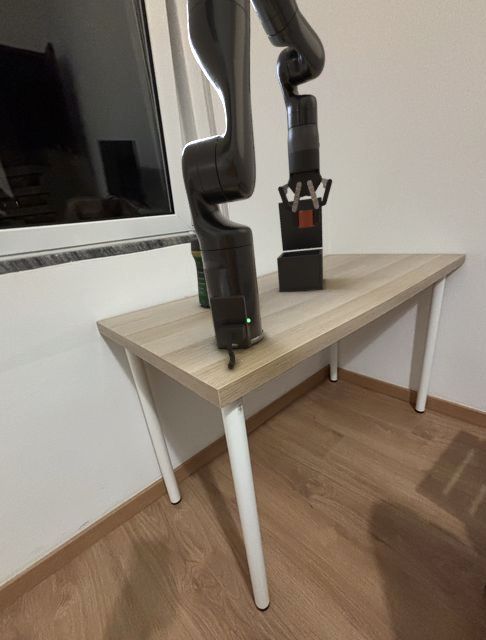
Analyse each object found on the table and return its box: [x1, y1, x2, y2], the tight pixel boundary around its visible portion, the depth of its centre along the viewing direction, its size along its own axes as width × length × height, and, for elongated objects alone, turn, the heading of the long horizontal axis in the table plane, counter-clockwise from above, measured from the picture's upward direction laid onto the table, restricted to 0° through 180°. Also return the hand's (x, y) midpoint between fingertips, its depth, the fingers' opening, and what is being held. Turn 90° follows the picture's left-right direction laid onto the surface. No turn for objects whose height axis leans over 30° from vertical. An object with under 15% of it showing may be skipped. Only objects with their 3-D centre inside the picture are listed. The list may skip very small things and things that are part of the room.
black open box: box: [276, 248, 324, 293], centre depth 94 cm, size 14×13×10 cm
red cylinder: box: [298, 209, 314, 228], centre depth 81 cm, size 4×4×4 cm
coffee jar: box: [190, 236, 210, 308], centre depth 85 cm, size 10×8×19 cm
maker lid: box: [277, 196, 324, 252], centre depth 96 cm, size 14×13×5 cm
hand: (306, 225), depth 81 cm, fingers closed on red cylinder, 4 cm apart
